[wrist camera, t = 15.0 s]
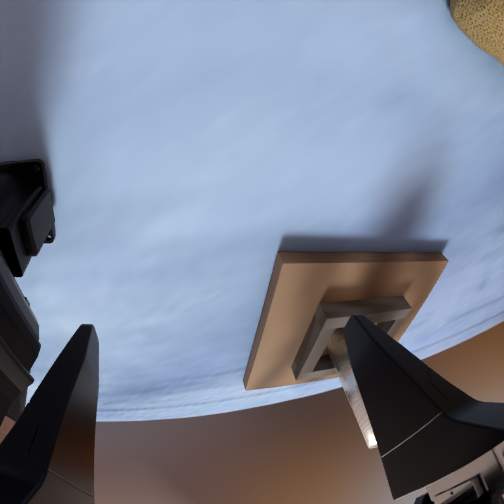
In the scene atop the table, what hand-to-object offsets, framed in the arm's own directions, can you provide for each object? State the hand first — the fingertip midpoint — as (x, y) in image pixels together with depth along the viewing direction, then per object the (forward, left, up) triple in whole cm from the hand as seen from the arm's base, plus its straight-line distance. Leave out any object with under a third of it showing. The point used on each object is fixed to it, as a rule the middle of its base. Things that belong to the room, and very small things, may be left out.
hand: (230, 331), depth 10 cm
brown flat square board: (+17, -16, -13) cm, 27 cm away
